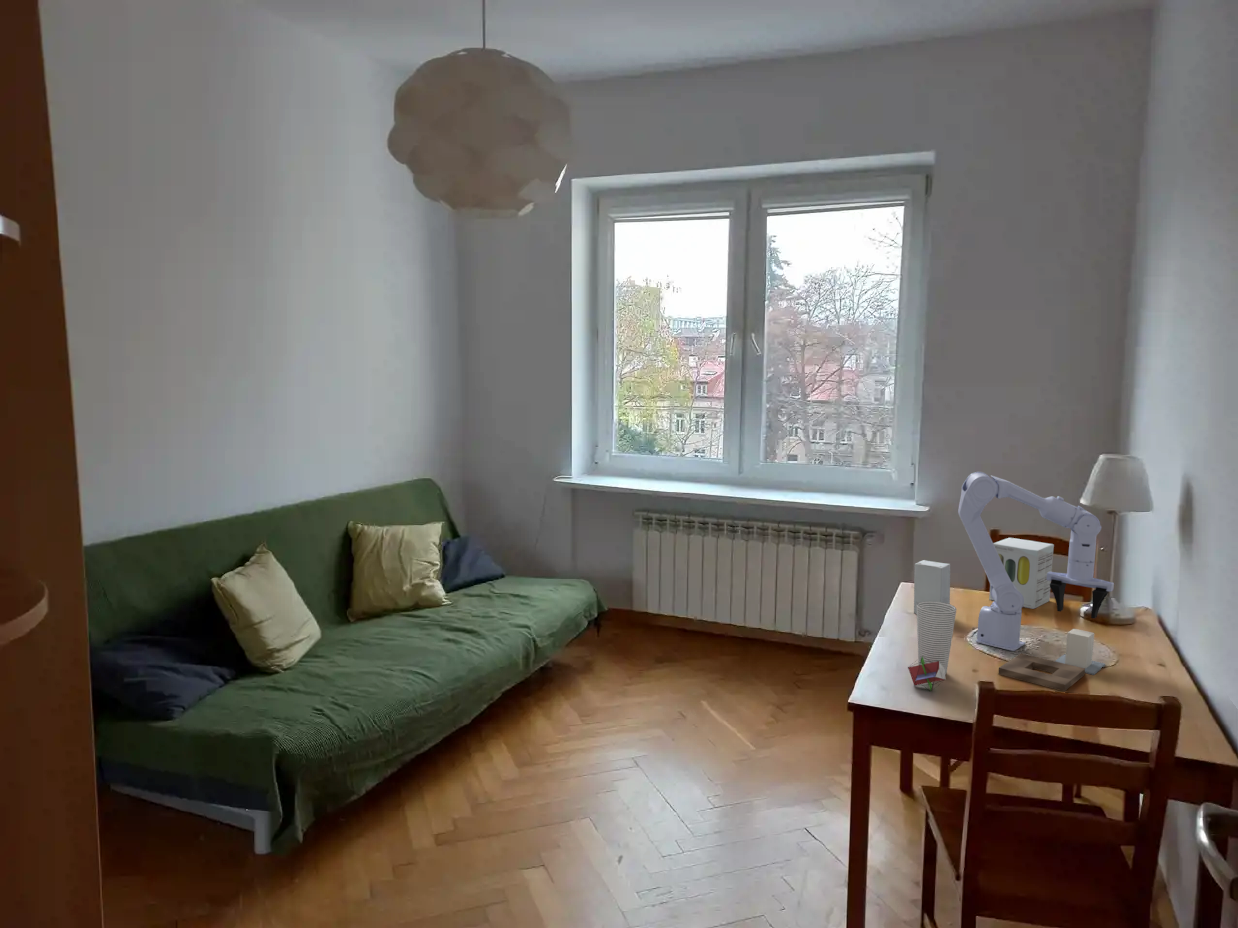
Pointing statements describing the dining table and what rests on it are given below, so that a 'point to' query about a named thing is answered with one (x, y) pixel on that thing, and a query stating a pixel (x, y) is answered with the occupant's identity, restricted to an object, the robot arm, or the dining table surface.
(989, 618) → the robot arm
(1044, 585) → the supplement box
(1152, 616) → the dining table surface
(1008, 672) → the pocket board
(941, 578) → the skincare box
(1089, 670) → the slate mat
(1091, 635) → the cream block
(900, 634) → the dining table surface
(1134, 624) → the dining table surface
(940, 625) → the cup
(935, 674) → the geometric puzzle
